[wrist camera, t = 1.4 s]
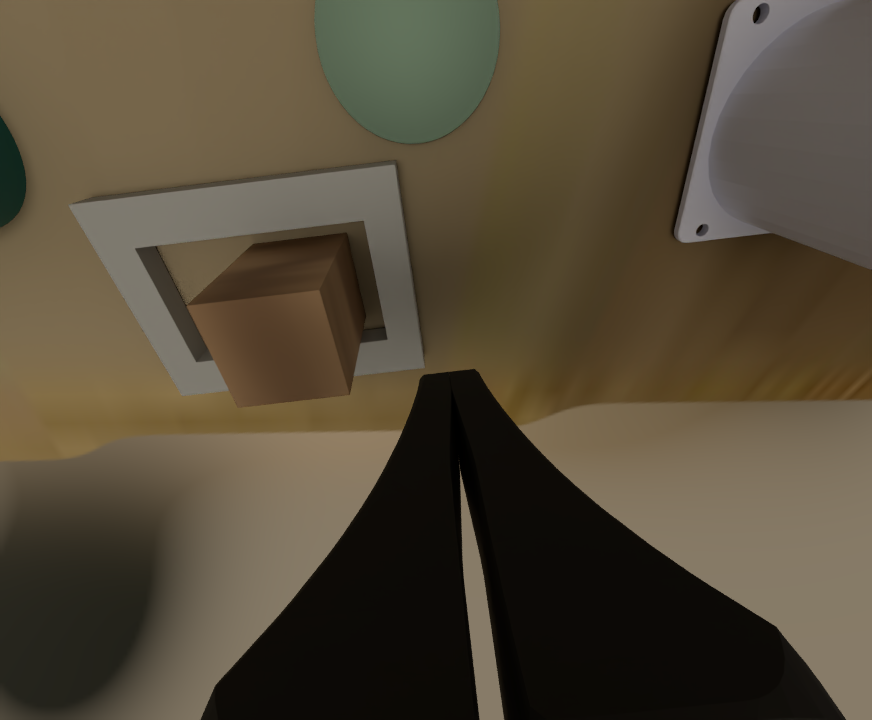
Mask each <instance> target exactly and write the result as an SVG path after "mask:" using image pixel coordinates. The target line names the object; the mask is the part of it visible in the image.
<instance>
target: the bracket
mask: <svg viewBox="0 0 872 720" xmlns="http://www.w3.org/2000/svg"><path fill="white" fill-rule="evenodd" d="M25 193H26V176H25V170H24V165H23V161H22V158H21V155H20V152H19V150H18V147H17V145H16V143H15V141H14V138H13V137H12V135H11V133H10V131H9V129H8V127H7V126H6V124H5V123H4V121H3V120H2V118H1V116H0V227H2V226H4V225H5V224H7V223H9V222H10V221H11V220H12V219H13V218H14V217H15V216H16V215H17V214H18V212H19V211H20V209H21V207H22V205H23V202H24V199H25Z"/></svg>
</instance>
